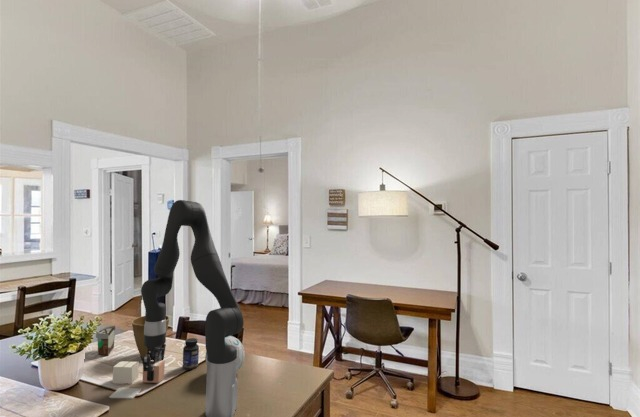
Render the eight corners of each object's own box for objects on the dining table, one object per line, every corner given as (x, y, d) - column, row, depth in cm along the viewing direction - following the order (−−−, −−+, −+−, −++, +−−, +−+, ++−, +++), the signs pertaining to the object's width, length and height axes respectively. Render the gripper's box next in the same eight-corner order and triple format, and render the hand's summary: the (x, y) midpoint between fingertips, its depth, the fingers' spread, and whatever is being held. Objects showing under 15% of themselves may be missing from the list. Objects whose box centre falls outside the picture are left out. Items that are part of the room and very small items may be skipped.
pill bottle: (192, 370, 139) (193, 343, 139) (179, 369, 140) (180, 341, 140) (201, 364, 145) (202, 338, 145) (188, 362, 146) (188, 336, 146)
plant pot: (132, 351, 157) (134, 316, 157) (168, 347, 162) (169, 313, 163) (128, 364, 143) (130, 326, 143) (167, 359, 149) (168, 322, 149)
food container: (99, 347, 160) (100, 326, 160) (114, 346, 162) (115, 325, 162) (90, 358, 148) (91, 335, 148) (107, 357, 150) (108, 334, 150)
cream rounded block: (138, 377, 132) (138, 361, 132) (131, 383, 127) (132, 367, 127) (120, 377, 132) (120, 361, 132) (112, 383, 127) (113, 366, 127)
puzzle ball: (196, 377, 134) (197, 338, 134) (225, 363, 147) (226, 327, 147) (224, 387, 126) (225, 346, 126) (252, 372, 139) (253, 334, 139)
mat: (141, 389, 123) (141, 388, 123) (132, 398, 117) (132, 397, 117) (119, 389, 123) (119, 388, 123) (109, 398, 117) (109, 396, 117)
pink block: (164, 377, 132) (164, 360, 132) (158, 382, 127) (159, 365, 127) (148, 376, 132) (149, 360, 132) (142, 382, 127) (143, 365, 127)
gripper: (155, 338, 123) (154, 387, 122) (173, 325, 137) (171, 369, 137) (135, 338, 123) (133, 386, 122) (154, 325, 137) (152, 368, 137)
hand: (153, 377), depth 129 cm, fingers closed on pink block, 4 cm apart
